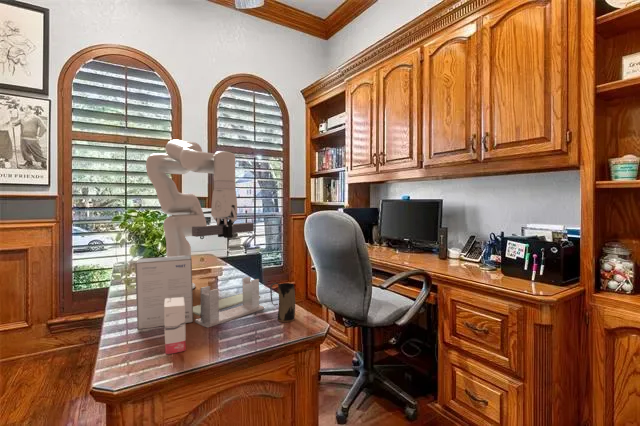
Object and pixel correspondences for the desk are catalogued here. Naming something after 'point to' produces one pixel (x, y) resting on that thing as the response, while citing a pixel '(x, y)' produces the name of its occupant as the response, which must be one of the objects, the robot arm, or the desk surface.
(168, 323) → the ink box
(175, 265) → the hard drive box
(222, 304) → the mat
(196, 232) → the rail
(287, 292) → the mug
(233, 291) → the desk surface
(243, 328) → the desk surface
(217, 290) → the rack
